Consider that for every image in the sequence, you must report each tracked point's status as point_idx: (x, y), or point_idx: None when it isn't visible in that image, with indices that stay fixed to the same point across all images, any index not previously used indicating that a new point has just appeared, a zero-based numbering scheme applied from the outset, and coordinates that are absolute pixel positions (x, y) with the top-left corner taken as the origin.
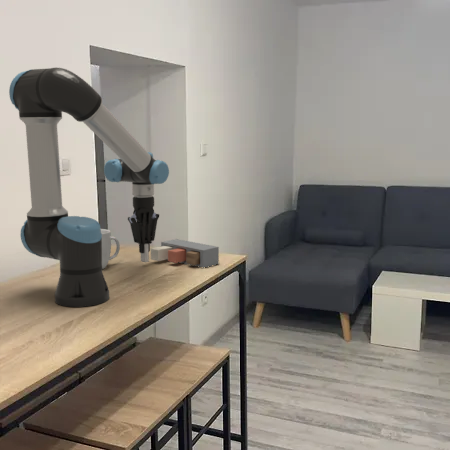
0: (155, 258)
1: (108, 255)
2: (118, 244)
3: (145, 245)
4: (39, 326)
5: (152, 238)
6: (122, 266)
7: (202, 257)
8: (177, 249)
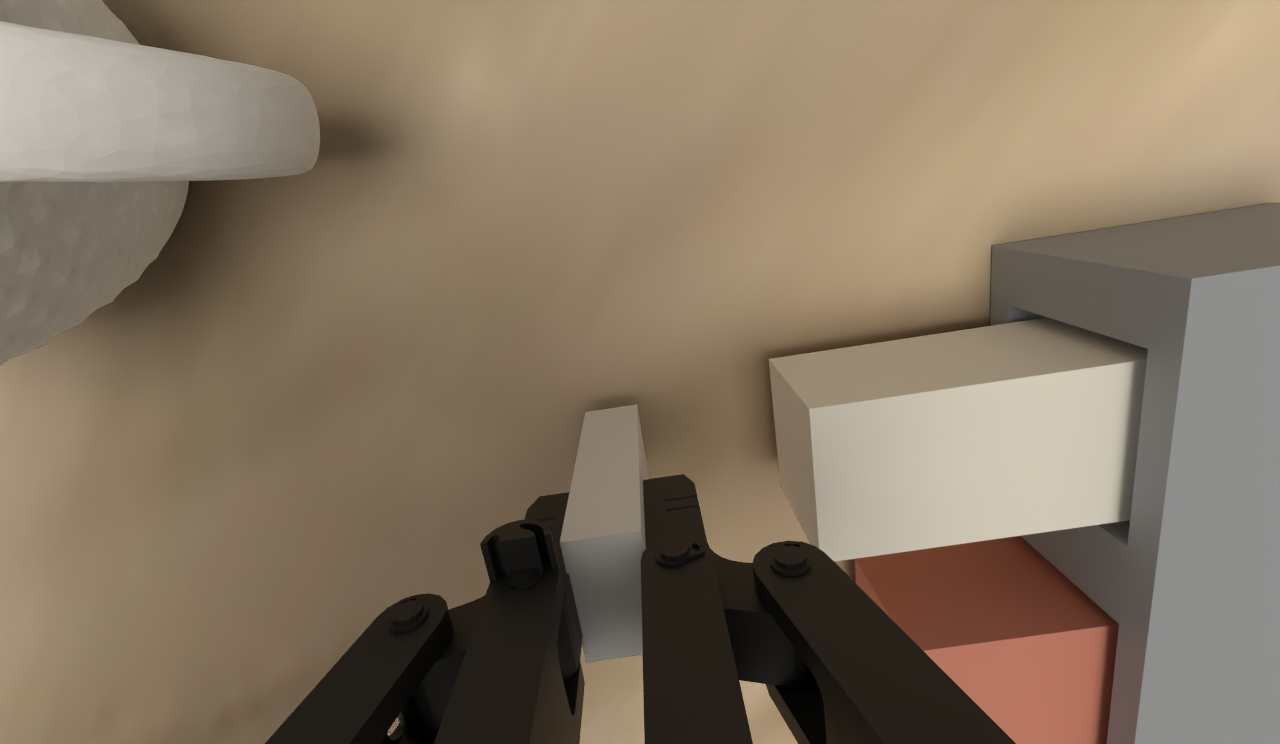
0: (781, 452)
1: (54, 333)
2: (215, 174)
3: (592, 644)
4: None
5: (790, 699)
6: (392, 292)
7: None
8: (1049, 672)
